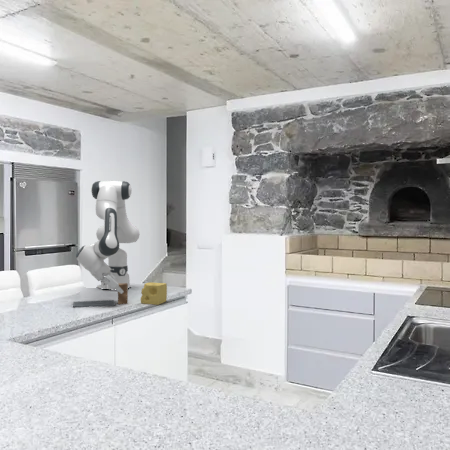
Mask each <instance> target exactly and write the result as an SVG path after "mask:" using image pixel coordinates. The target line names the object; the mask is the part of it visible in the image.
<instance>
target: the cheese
mask: <svg viewBox="0 0 450 450" xmlns="http://www.w3.org/2000/svg"><path fill="white" fill-rule="evenodd" d="M167 285H168V284H167V283H166V282H151V281H150V282H146V283H144V285H143V286H144V287H143V288H142V289H141V293H140V294H141V297H140V304H142V305H143V304H144V305H154V306H155V305H156V306H159V305H162V304H164V303H166V302H167V300H168V299H167V296H168V287H167Z"/></svg>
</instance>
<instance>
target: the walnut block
mask: <svg viewBox="0 0 450 450" xmlns="http://www.w3.org/2000/svg"><path fill="white" fill-rule="evenodd" d="M118 284H119V287H120V288H121V289H122V290H123V291H124V292H123V293H122V294H121V293H120V292H118V291H117V305H128V301H129V300H128V297H129V295H128V292H129V291H128V290H129V289H128V284H127V283H118Z"/></svg>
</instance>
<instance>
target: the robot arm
mask: <svg viewBox="0 0 450 450" xmlns="http://www.w3.org/2000/svg"><path fill="white" fill-rule="evenodd" d="M90 189H91V191H90V192H91V195H92V198H94V199H95V200H96V201H95V203H96V204H95V215H96V216H97V217H98V218H99V219H101V220H103V225H101V226H100V225H99V227H98V228H97V230H96V234H95V235H96V239H97V240H98V241H97V242H94V243H92V244H91V243H90V244H88V245H83V246H81V248H80V249H79V250H78V251H77V253H76V255H75V257H76V258H75V259H76V260H77V262H78V263H79V264H80V265H81V266H82V267H83V269H85V270H87V271H88V272H89V273H90V274H91V276H93V277H94V278H95V280H97V281H98V282H100V284H98V285H97V286H96V287H97V288H98V289H100V288H103V289H111V290H110V291H117V293H118V292H120V293H121V294H122V293H123V292H124V291H123V290H122V289H121V288H120V287H119V284H118V283H127V284H128V288H129V287H130V286H131V283H130V280H131V279H130V274H129V273H128V272H129V267H128V253H127V252H126V250H124V249H123V248H120V244H131V243H137V242H138V240H139V239H140V230H139V228H138V227H137V226H135V225H134V224H133V223H132V222H131V221H130V220H129V218H128V215H127V209H126V200H128V199H129V198H131V196H132V186H131V184H130V183H129V182H128V181H125V180H122V181H120V180H103V181H101V180H99V181H98V180H97V181H95V182H94V183H93V184H92V185H91V188H90ZM106 259H108V260H107V261H108V263H106V262H105V261H104V260H106ZM112 289H113V290H112ZM115 289H116V290H115ZM129 289H130V288H129Z"/></svg>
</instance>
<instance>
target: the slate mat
mask: <svg viewBox="0 0 450 450" xmlns="http://www.w3.org/2000/svg"><path fill="white" fill-rule="evenodd" d="M72 303H73V304H72V308H88V307H89V306H93V307H109V306H111V307H113V306H116V304H115V300H114V299H108V300H104V299H103V300H81V301H80V300H79V301H76V300H75V301H73V302H72ZM89 308H90V307H89Z"/></svg>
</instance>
